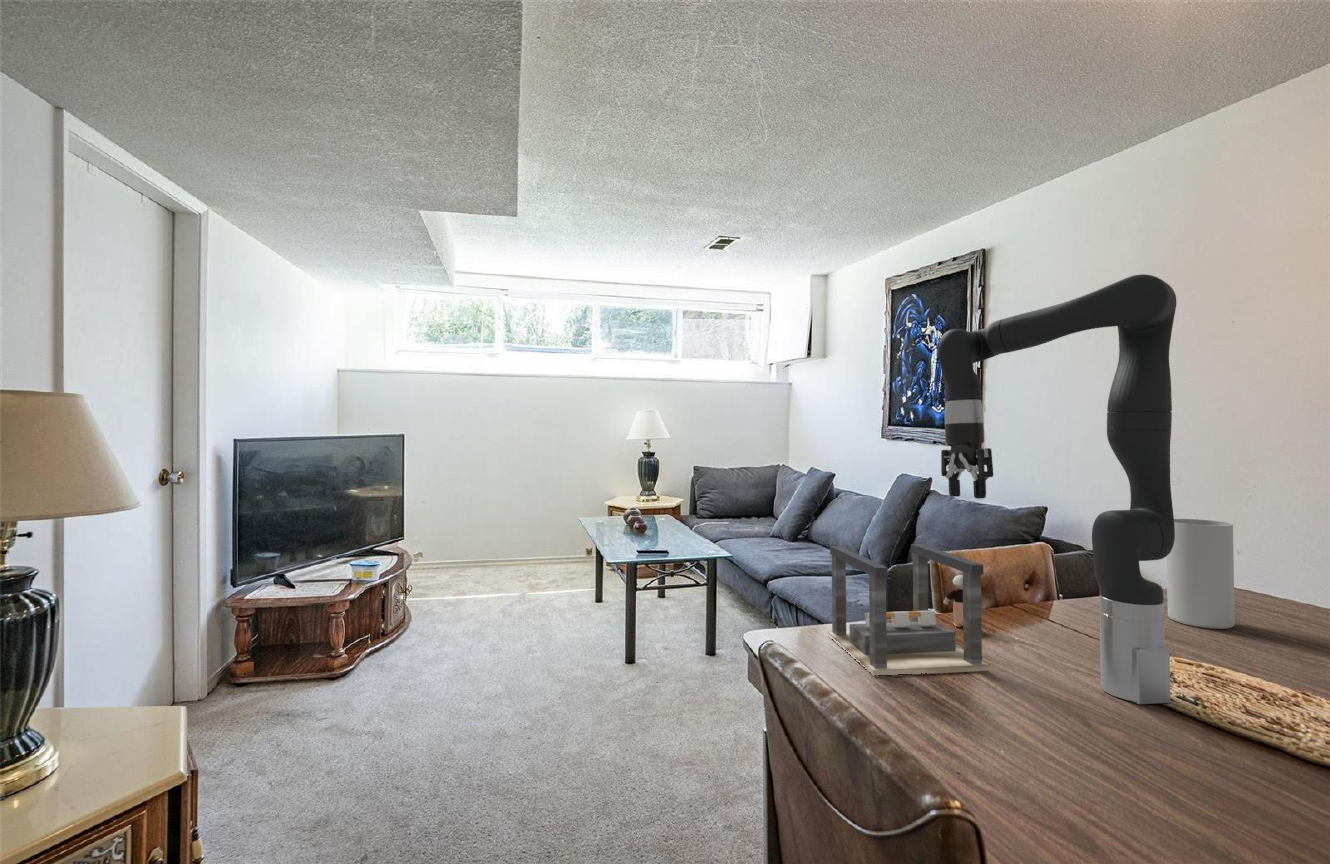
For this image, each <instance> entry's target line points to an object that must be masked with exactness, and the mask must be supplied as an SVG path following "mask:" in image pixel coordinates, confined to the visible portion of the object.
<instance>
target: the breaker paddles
mask: <svg viewBox="0 0 1330 864" xmlns="http://www.w3.org/2000/svg"><path fill="white" fill-rule="evenodd" d="M864 616H865V617H864V618H865V624H866V626H867V627H870V624H869V612H865V613H864ZM916 616H918V624H920V625H936V622H937V620H936V611H935V610H931V609H928V611H913V610H912V611H911V610H910V611H909V610H907V611H905V610H904V611H886V619H888V618H891V623H892V625H894V626H910V622H911V621H910V618H911V617H916Z"/></svg>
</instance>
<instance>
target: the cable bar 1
mask: <svg viewBox="0 0 1330 864" xmlns="http://www.w3.org/2000/svg"><path fill="white" fill-rule="evenodd" d="M829 552H830V553H829V554H830V556H831V557H832V556H834V557H836V558H838V559H840V560H842V561H844V562H846V564H847V565H850V566H851V567H853V568H856V569H858V570H860V571H862V572H863V573H865V574H867V575H868V576H869V575H871V576H873V577H875V578H886V579H888V578H889V577H888V576H889V573H888V572H889V567H887V566H885V565H883V564H880V563H878V562H876V561H874V560H872V559H870V558H867V557H865V556H864V555H861V554H859V553H857V552H854V551H852V550H850V549H848V548H846V547H844V546H841V545H831V546H829Z"/></svg>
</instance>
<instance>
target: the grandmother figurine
mask: <svg viewBox="0 0 1330 864" xmlns="http://www.w3.org/2000/svg"><path fill="white" fill-rule="evenodd" d="M952 584H953V585H954V587H955V588H956V589H953V590H950V591H949V592H947V594H946V595H945V597H944V600H943V604H944V605H949V602H950V601H951V600H953V606H952V607H953V609H952V610H953V611H952V615H953V624H954V625H955V626H961V625H963V574H958V575H955V576H954V578H953V579H952Z"/></svg>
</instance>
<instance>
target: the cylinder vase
mask: <svg viewBox="0 0 1330 864" xmlns="http://www.w3.org/2000/svg"><path fill="white" fill-rule="evenodd" d="M1174 526H1175V540H1174V545H1173V548H1172V550H1171V552H1170V553H1169V554H1168V555H1167V556H1166V581H1167V582H1166V584H1167V585H1166V589H1167V591H1166V592H1167V595H1166V596H1167V599H1166V600H1167V616H1168V618H1170V619H1171V620H1172V621H1175V622H1177V623H1180V624H1183V625H1188V626H1190V627H1197V628H1203V629H1214V630H1225V629H1226V630H1227V629H1231V628H1233V627H1234V626H1235V625H1236V624H1235V623H1236V621H1235V617H1236V616H1235V573H1234V572H1235V567H1234V566H1235V563H1234V561H1235V560H1234V558H1235V557H1234V524H1233V523H1230V522H1227V521H1226V522H1225V521H1219V520H1211V519H1209V520H1208V519H1198V518H1196V519H1195V518H1194V519H1193V518H1174Z"/></svg>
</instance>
